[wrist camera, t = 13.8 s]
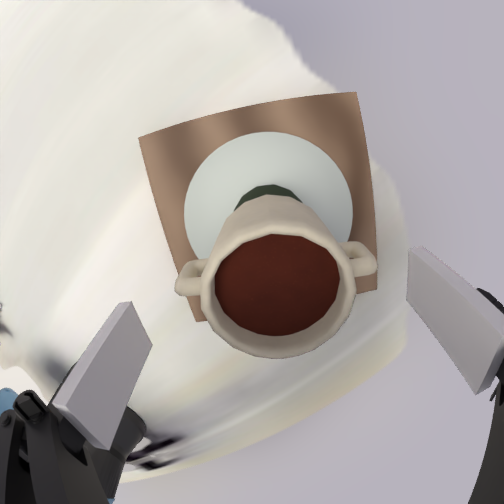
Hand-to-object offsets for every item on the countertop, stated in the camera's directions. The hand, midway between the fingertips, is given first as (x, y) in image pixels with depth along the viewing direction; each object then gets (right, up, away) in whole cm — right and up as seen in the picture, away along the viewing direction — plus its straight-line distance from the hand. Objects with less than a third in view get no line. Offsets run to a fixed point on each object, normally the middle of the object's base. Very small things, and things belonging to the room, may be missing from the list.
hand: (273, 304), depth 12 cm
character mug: (+1, +5, +12) cm, 13 cm away
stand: (+1, +6, +14) cm, 16 cm away
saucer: (+1, +6, +13) cm, 14 cm away
